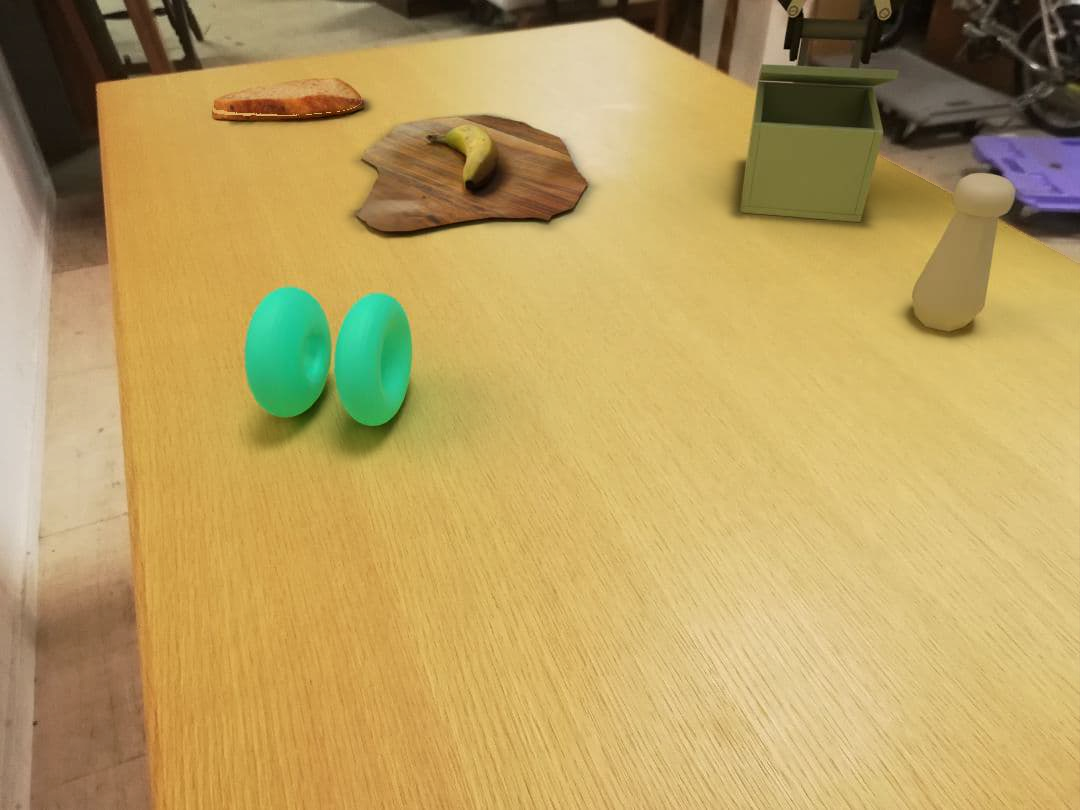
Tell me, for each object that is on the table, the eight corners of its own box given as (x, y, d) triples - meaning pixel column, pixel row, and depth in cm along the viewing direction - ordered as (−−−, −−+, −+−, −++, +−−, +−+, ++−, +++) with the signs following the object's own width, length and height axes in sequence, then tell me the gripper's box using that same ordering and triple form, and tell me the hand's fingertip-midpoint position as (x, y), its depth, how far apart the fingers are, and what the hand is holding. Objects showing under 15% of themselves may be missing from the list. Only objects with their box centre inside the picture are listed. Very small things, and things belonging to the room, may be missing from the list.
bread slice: (203, 114, 115) (195, 88, 112) (305, 82, 125) (300, 57, 122) (271, 144, 105) (264, 116, 103) (376, 106, 115) (372, 80, 113)
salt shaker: (971, 305, 71) (1024, 167, 63) (980, 341, 67) (1038, 199, 58) (902, 297, 72) (945, 161, 64) (907, 332, 68) (953, 191, 60)
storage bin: (860, 222, 84) (883, 131, 77) (740, 212, 86) (753, 124, 80) (853, 170, 94) (873, 86, 87) (746, 163, 96) (758, 80, 90)
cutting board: (608, 217, 86) (609, 184, 84) (357, 247, 83) (351, 214, 80) (544, 109, 113) (543, 81, 110) (352, 128, 109) (347, 100, 107)
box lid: (897, 79, 74) (909, 18, 72) (760, 73, 77) (769, 14, 75) (874, 86, 87) (883, 35, 85) (758, 80, 90) (765, 30, 88)
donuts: (385, 455, 58) (361, 345, 52) (259, 442, 60) (221, 334, 53) (423, 373, 66) (406, 269, 59) (310, 363, 67) (282, 261, 61)
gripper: (974, -171, 67) (916, 50, 79) (767, -167, 71) (740, 44, 82) (991, -163, 62) (925, 74, 73) (765, -159, 65) (737, 67, 77)
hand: (828, 56), depth 78 cm, fingers closed on box lid, 6 cm apart
